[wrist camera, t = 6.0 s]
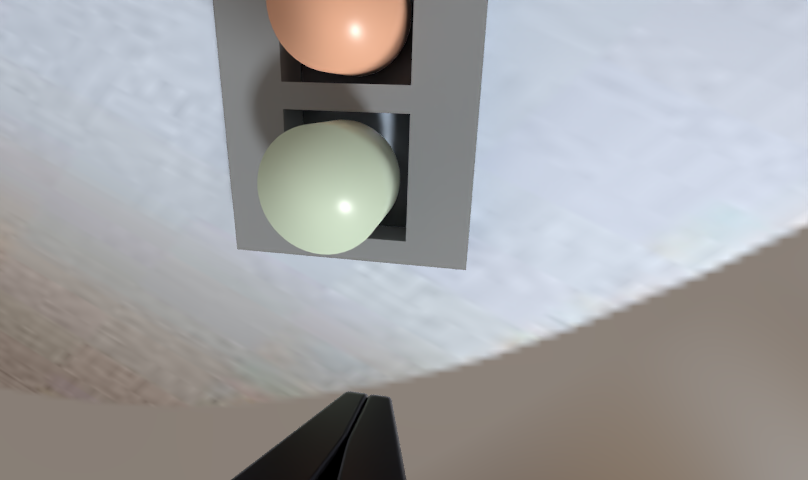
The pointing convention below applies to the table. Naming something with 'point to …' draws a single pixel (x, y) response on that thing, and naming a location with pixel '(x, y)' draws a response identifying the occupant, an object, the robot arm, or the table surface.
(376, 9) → the terracotta button
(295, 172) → the sage button
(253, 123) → the button panel
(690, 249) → the table surface
